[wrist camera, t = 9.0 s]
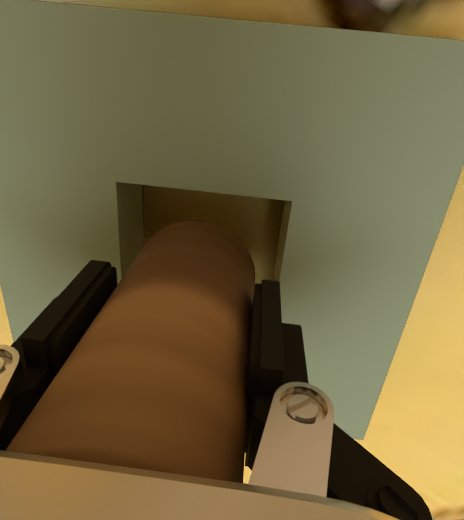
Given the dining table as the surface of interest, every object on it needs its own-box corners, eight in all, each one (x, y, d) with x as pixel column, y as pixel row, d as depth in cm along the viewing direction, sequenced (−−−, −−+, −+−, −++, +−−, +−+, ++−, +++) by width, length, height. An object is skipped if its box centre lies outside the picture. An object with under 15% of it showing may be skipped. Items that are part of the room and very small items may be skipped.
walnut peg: (137, 213, 14) (-51, 428, 6) (262, 227, 13) (252, 469, 5) (140, 316, 16) (6, 582, 8) (248, 329, 15) (227, 614, 7)
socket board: (-1, 4, 14) (-67, -9, 11) (459, 47, 13) (507, 44, 10) (56, 353, 21) (25, 395, 18) (351, 390, 20) (363, 440, 18)
